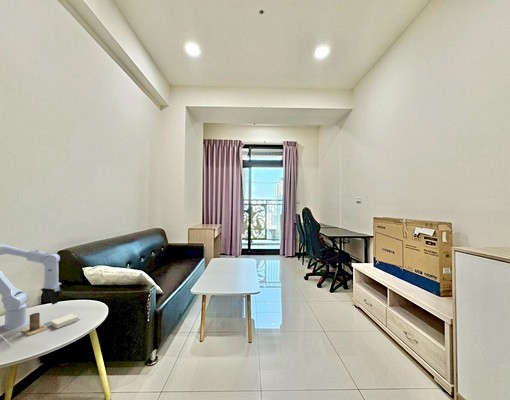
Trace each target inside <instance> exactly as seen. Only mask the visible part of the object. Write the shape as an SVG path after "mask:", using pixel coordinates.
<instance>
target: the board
mask: <svg viewBox="0 0 510 400" xmlns="http://www.w3.org/2000/svg"><path fill="white" fill-rule="evenodd" d="M47 330H48V327H47V326H45V325H43V323H40V328H39V329H37V330H34V331H30V326H28V327H25V328H22V329H21V332H22V333H24V334H25V335H26V336H27V337H30V336H33V335H36V334H40V333H41V332H44V331H47Z"/></svg>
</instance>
